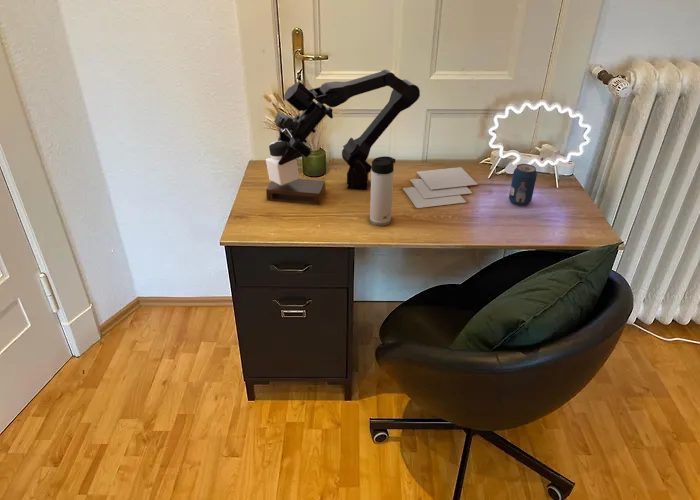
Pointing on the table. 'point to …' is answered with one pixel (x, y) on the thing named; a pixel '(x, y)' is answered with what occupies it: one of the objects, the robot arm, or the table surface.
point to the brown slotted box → (297, 191)
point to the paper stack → (439, 187)
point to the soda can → (522, 185)
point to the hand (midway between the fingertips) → (276, 159)
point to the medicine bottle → (281, 172)
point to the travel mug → (381, 190)
